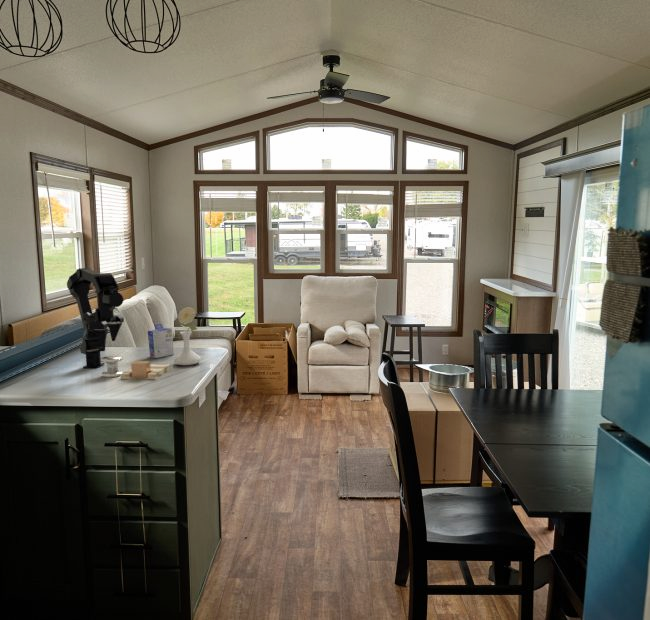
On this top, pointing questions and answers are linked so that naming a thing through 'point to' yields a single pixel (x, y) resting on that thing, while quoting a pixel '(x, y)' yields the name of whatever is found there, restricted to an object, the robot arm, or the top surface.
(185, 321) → the flower in vase
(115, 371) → the bobbin
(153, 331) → the ink cartridge box
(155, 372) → the notched board
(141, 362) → the wooden block
